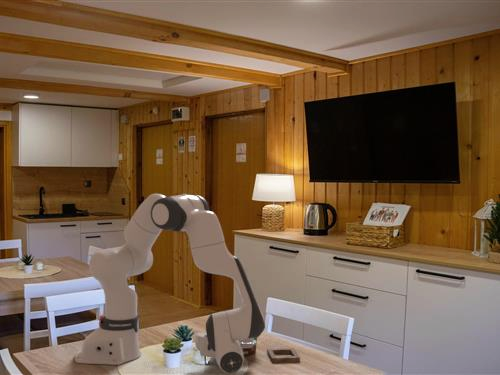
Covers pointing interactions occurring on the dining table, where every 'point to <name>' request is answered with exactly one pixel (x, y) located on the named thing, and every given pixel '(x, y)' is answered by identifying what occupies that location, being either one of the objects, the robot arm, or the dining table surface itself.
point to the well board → (292, 358)
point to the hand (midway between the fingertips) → (222, 332)
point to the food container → (250, 350)
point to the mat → (212, 361)
